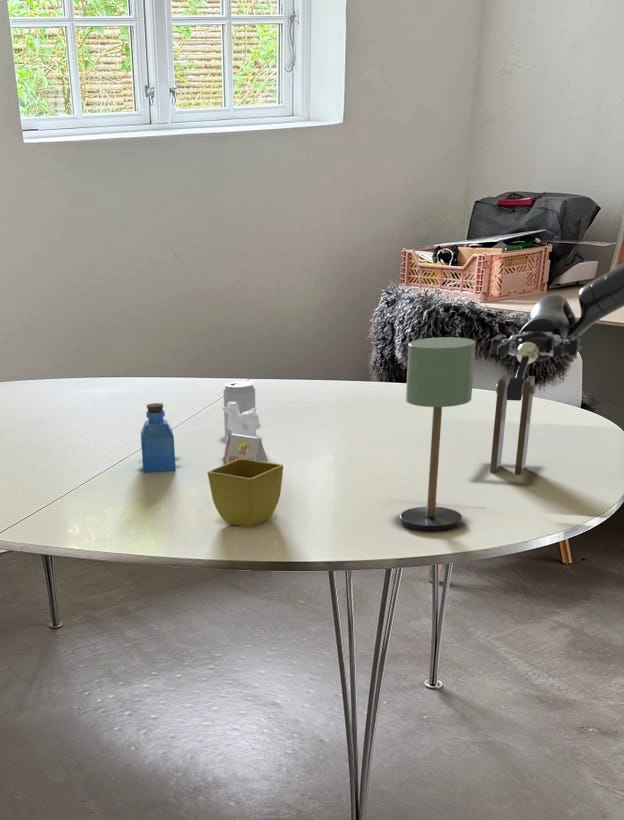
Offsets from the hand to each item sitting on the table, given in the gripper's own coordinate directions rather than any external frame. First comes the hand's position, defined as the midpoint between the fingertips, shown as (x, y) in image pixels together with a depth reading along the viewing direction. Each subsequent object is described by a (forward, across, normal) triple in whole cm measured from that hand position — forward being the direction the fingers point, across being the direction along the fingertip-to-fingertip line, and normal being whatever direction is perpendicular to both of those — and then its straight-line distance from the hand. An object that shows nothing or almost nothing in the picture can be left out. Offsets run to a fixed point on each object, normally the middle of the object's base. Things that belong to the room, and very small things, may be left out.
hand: (528, 352), depth 162 cm
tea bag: (+30, +40, -20) cm, 54 cm away
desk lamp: (+37, +6, -19) cm, 42 cm away
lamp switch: (+4, 0, -4) cm, 6 cm away
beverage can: (-2, +55, -19) cm, 58 cm away
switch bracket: (+10, 0, -19) cm, 22 cm away
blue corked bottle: (+19, +63, -19) cm, 69 cm away
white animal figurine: (+13, +48, -19) cm, 54 cm away
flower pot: (+44, +34, -20) cm, 59 cm away
